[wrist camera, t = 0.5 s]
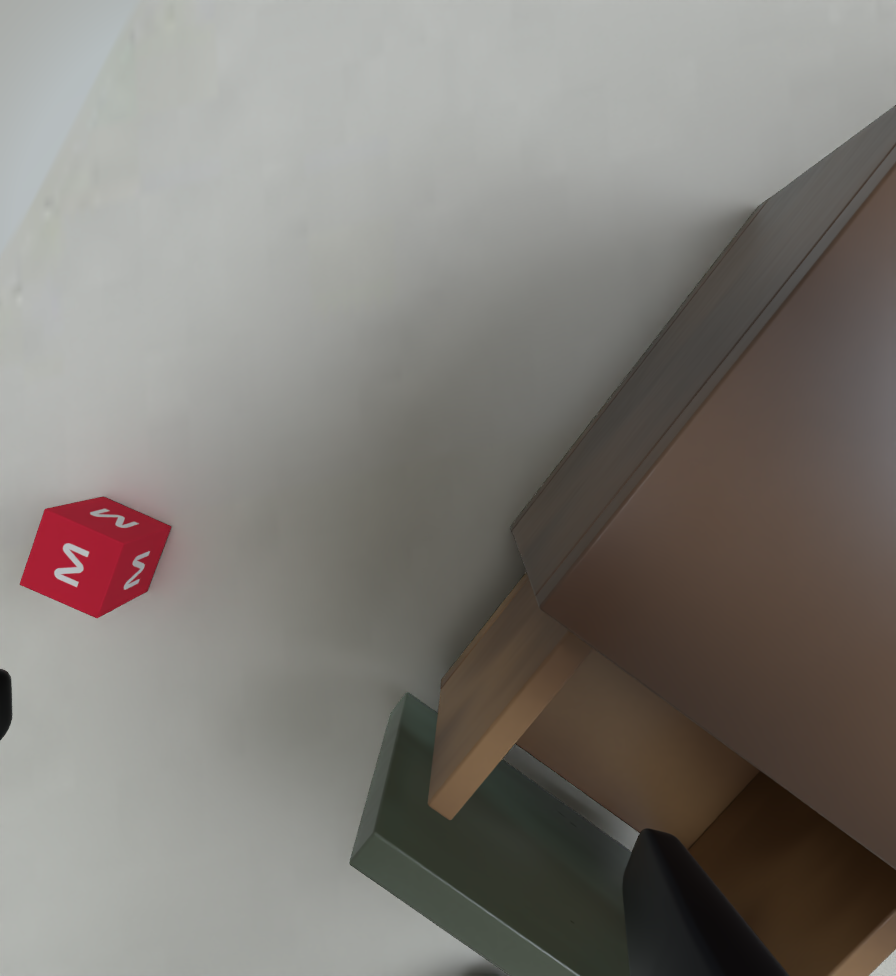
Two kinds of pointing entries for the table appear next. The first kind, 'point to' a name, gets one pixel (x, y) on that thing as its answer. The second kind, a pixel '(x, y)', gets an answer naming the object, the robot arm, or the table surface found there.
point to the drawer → (577, 842)
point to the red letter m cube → (94, 555)
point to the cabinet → (757, 498)
